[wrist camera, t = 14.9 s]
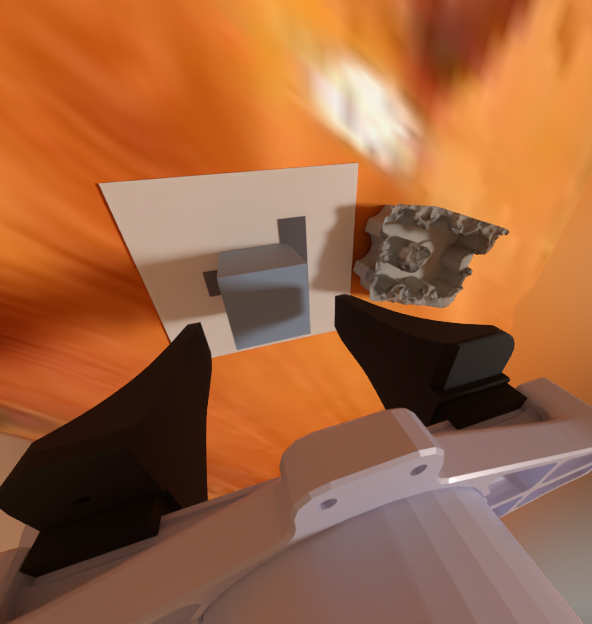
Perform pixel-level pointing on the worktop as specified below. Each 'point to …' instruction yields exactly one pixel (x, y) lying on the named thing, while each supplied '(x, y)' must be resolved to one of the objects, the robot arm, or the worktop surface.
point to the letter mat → (236, 238)
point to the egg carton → (421, 253)
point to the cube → (264, 294)
